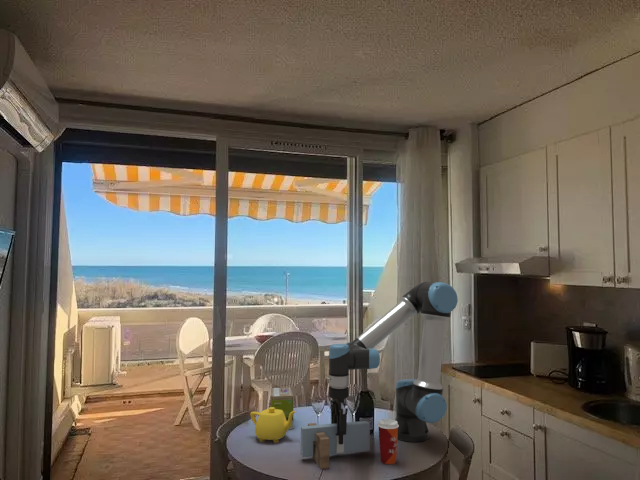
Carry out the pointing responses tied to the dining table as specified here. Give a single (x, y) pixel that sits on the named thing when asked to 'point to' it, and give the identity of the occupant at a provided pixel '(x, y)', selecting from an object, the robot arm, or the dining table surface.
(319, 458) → the notched walnut block
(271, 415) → the teapot
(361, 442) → the slate board
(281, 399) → the tea box
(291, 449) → the dining table surface
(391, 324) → the robot arm
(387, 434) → the paper cup
